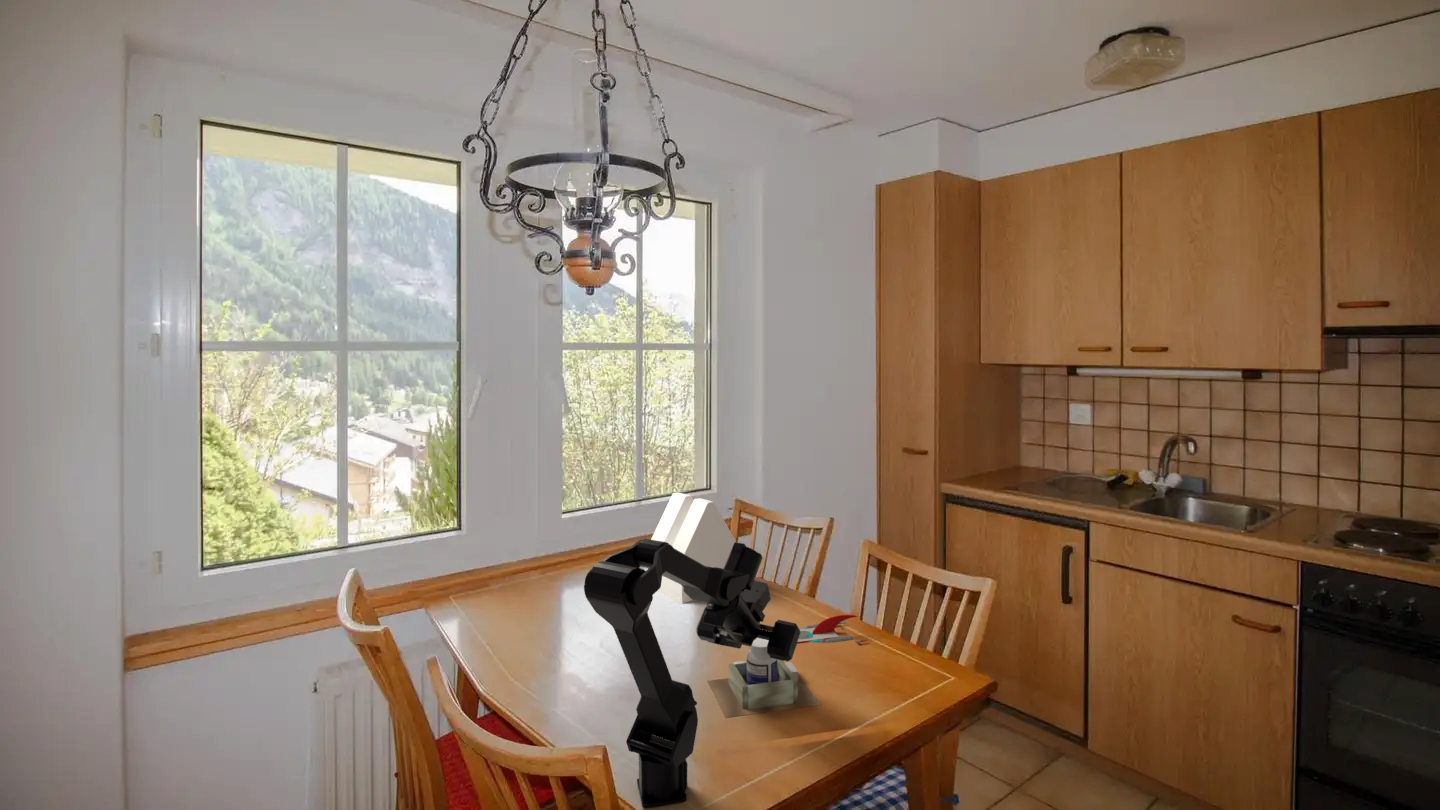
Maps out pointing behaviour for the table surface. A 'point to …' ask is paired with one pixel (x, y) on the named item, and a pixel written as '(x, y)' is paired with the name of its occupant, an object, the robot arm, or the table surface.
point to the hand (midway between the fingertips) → (762, 651)
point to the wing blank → (792, 669)
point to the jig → (760, 692)
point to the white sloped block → (693, 536)
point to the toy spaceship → (825, 631)
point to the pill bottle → (760, 664)
